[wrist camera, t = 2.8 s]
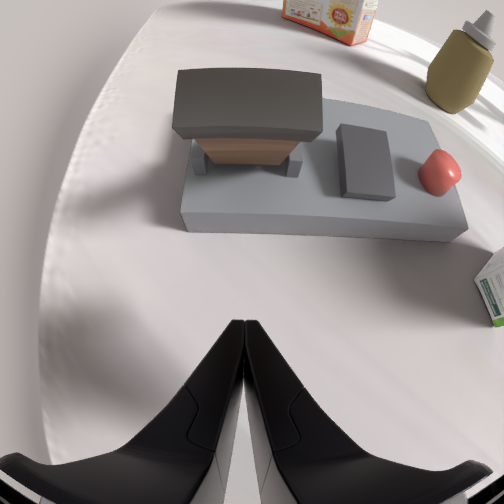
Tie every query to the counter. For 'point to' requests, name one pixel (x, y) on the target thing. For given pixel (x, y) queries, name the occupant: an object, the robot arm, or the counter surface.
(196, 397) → the robot arm
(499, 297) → the syrup box
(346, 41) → the cracker box
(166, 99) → the counter surface
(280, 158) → the lever
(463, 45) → the squeeze bottle
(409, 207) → the panel
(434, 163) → the button
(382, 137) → the block
